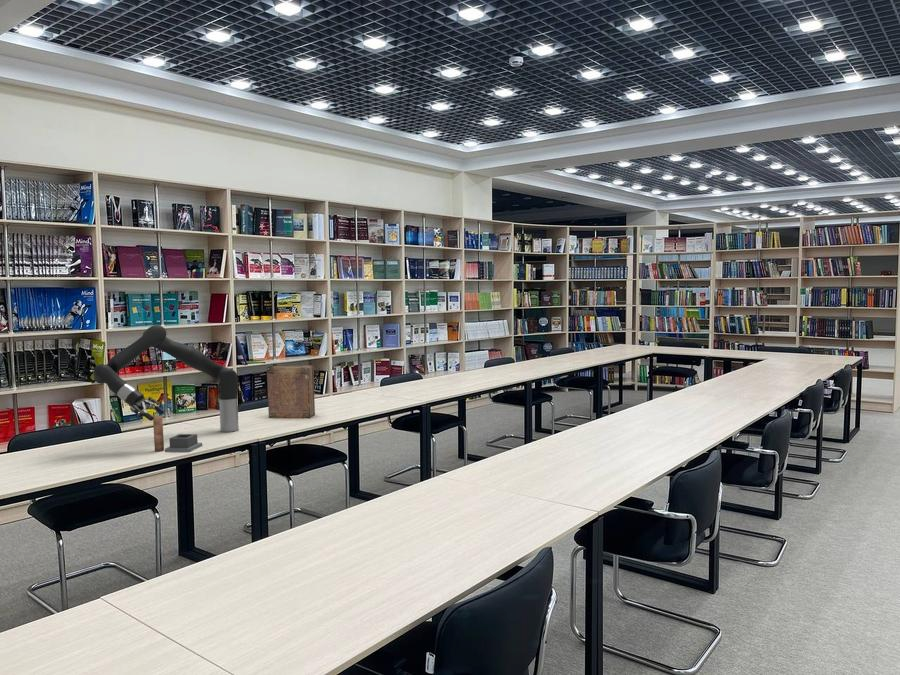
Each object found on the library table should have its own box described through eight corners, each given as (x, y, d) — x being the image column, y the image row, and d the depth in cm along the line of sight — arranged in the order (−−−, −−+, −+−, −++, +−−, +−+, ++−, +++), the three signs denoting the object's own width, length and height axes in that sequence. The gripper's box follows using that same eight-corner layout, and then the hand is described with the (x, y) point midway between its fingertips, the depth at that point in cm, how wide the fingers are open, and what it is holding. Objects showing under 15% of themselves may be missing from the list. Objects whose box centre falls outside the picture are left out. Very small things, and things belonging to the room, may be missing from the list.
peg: (157, 449, 302) (156, 416, 301) (165, 449, 302) (164, 416, 301) (153, 451, 298) (151, 417, 297) (161, 451, 298) (159, 417, 297)
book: (315, 415, 381) (313, 365, 378) (309, 418, 371) (308, 367, 369) (274, 414, 384) (273, 365, 382) (268, 417, 375) (266, 367, 373)
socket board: (178, 445, 309) (178, 433, 309) (202, 445, 308) (201, 433, 308) (165, 451, 298) (164, 439, 297) (189, 452, 296) (189, 439, 296)
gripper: (135, 396, 308) (162, 417, 308) (116, 406, 294) (145, 427, 294) (143, 385, 306) (170, 405, 306) (124, 394, 292) (153, 415, 292)
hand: (158, 416), depth 300 cm, fingers open, 8 cm apart
